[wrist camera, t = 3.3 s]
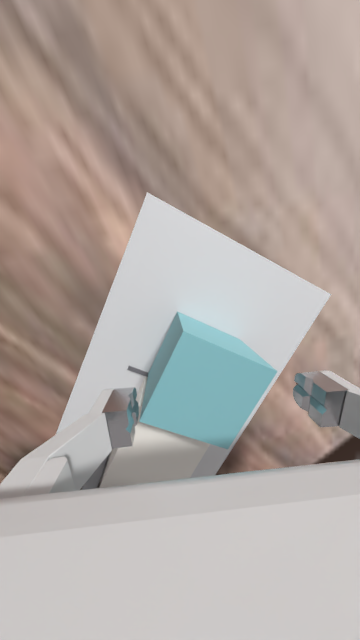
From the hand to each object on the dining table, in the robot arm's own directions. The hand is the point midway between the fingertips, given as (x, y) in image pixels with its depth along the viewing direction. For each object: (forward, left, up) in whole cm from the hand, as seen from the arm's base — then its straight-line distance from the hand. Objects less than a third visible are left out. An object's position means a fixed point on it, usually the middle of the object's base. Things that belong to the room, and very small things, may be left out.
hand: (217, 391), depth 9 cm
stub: (0, +1, -4) cm, 4 cm away
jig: (-3, +1, -5) cm, 6 cm away
